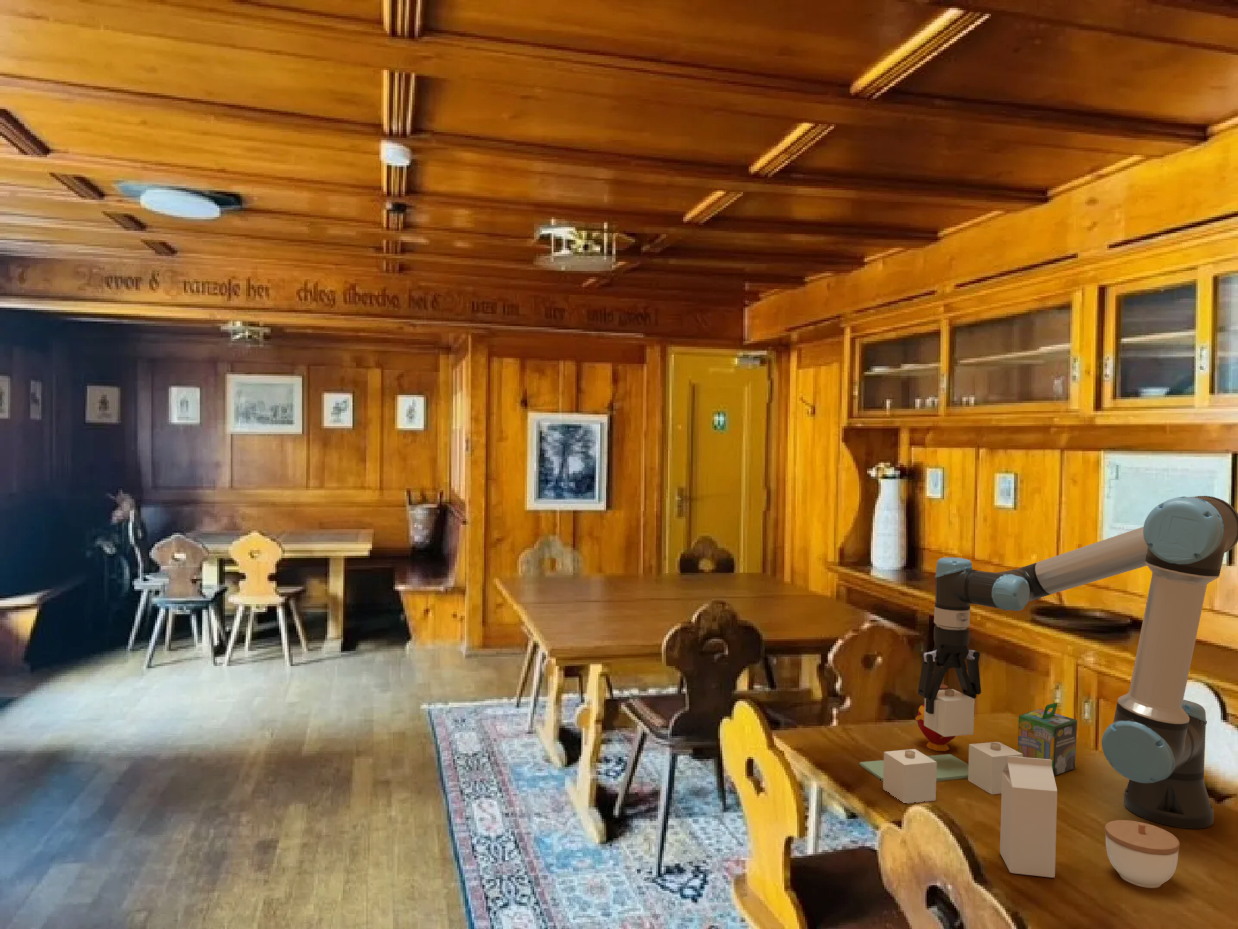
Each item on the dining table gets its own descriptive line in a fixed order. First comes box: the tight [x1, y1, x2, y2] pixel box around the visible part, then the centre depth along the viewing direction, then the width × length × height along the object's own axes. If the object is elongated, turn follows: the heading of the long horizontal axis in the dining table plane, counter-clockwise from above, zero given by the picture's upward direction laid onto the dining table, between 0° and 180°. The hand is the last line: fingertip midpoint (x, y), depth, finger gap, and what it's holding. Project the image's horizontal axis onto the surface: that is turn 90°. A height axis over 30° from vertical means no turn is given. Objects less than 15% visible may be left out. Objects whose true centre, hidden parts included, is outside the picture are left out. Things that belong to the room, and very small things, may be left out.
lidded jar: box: [1104, 819, 1181, 889], centre depth 142 cm, size 11×11×9 cm
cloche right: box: [967, 741, 1023, 795], centre depth 180 cm, size 8×8×9 cm
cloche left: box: [882, 748, 937, 804], centre depth 175 cm, size 8×8×9 cm
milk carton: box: [999, 756, 1058, 878], centre depth 145 cm, size 7×7×19 cm
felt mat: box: [859, 753, 969, 782], centre depth 188 cm, size 12×24×1 cm, turn 105°
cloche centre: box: [924, 688, 976, 737], centre depth 190 cm, size 8×8×9 cm
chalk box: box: [1017, 702, 1078, 777], centre depth 192 cm, size 9×9×15 cm
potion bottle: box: [915, 683, 956, 752], centre depth 203 cm, size 10×10×15 cm
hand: (948, 726), depth 190 cm, fingers closed on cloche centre, 7 cm apart
